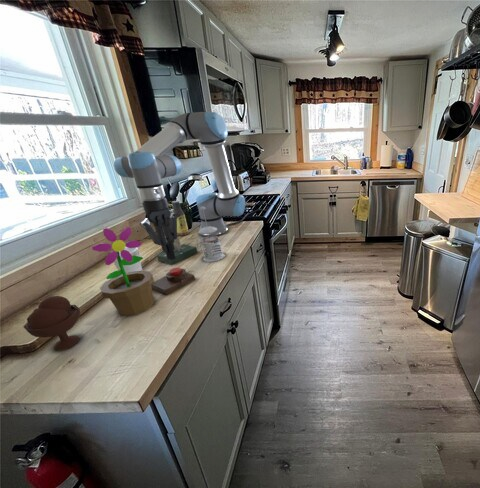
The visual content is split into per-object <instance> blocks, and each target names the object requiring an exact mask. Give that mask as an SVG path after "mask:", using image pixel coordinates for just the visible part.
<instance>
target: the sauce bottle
mask: <svg viewBox="0 0 480 488" xmlns="http://www.w3.org/2000/svg"><path fill="white" fill-rule="evenodd" d="M171 205H172V209H173V211H172V213H176V214H178V217H177V237H178V236H179V237H182V236H186V235H188V234H189V228H188V223H187V218H186V215H185V212H184V211H183V210H182V208H181V202H180V201H179V200H173V201H171Z"/></svg>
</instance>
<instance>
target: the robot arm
mask: <svg viewBox="0 0 480 488" xmlns="http://www.w3.org/2000/svg"><path fill="white" fill-rule="evenodd" d="M228 133H229V132H228V127H227V123H226V121H225V119H224V118H223V116H222V115H221V114H220V113H218V112H216V111H197V112H184V113H182V114H179V115H177V116H175V117H174V118H172V119H170V120H169V121H168V122H166V123H165V124H164V126H163V129H161V131H159V132H158V133H156V134H155V135H154V136H153V137H151V138H150V139H149V140H147V141H146V142H145V143H144V144H142V145H141V146H140V147H138V148H137V149H136V150H135V151H133V152H130V153H128V154H127V156H119V157H116V158H115V159H114V161H113V169H114V171H115V172H116V174H117V175H118V176H120V177H122V178H130V179H134V182H135V186H136V188H137V192H138V195H139V198H140V200H141V204H142V208H143V211H144V213H145V216H144V217H145V219H144V220H143V221H140V222H139V225H140V226H141V227H143V228H144V229H145V231H146V233H147V234H148V235H149V237H150V239H151V240H152V242H153V244H154V245H157V246H161V249H162V252H165V253H166V255H167V258H168V259H170V260H174V259H176V258H175V254H174V251H173V250H174V249H175V247H174V244H173V243H174V242H175V241H174V240H175V239H177V237H178V235H177V217H178V214H176V213H173V211H171V210H170V208H169V203H168V199H167V198H166V193H165V189H164V185H163V182H162V179H165V178H166V179H167V178H170V177H175V176H177V175H179V174H181V172H182V170H183V169H182V168H183V166H182V162H181V160H180V159H179V158H178V157H177V156H175V155H171V154H168V153H170V151H172V150H173V149H174V148H175V147H176V146H177V145H178V144H183V143H184V142H186V141H188V140H199V143H200V145H201V146H202V147H204V148H205V151H206V154H207V157H208V161H209V164H210V167H211V171H212V174H213V177H214V181H215V184H216V187H217V190H218V192H208V193H204V194H201V195H198V196H196V199H195V200H196V206H197V210H198V214H199V218H200V226H199V230H201V229H202V228H204V227H209V226H211V227H215V228H217V231H216V232H213V233H210V234H200V236H201V237H208V236H217V237H218V236H222V235H224V234H226V233H227V232H228V230H229V229H228V226H232V225H235V224H239V223H241V222H242V221H244V219H246V218H247V216H248V215H250V214H253V213H256V212H257V211H263V209H262V208H257V209H256V210H253V211H251V212H248V213H247V214H245V215H244V217H243V218H242V219H240V220H239V221H236V222H235V221H234V222H231V223H228V224H226V223H225V221H224V219H223V217H240V216H242V215H243V214H244V212H245V209H246V198H245V196H244V195H242V194H240V192H239V190H238V189H236V187H235V184H234V180H233V176H232V172H231V169H230V166H229V165H230V164H229V161H228V157H227V153H226V150H225V146H224V144H225V142H226V138H227V137H228ZM201 207H205V209H203V210H204V212H203V210H201ZM204 214H205V216H204ZM205 219H206V221H205ZM206 223H207V225H206ZM151 224H152V225H151ZM152 226H153V227H154V229H153V227H152ZM165 238H166V239H165ZM166 241H168V242H166Z"/></svg>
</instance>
